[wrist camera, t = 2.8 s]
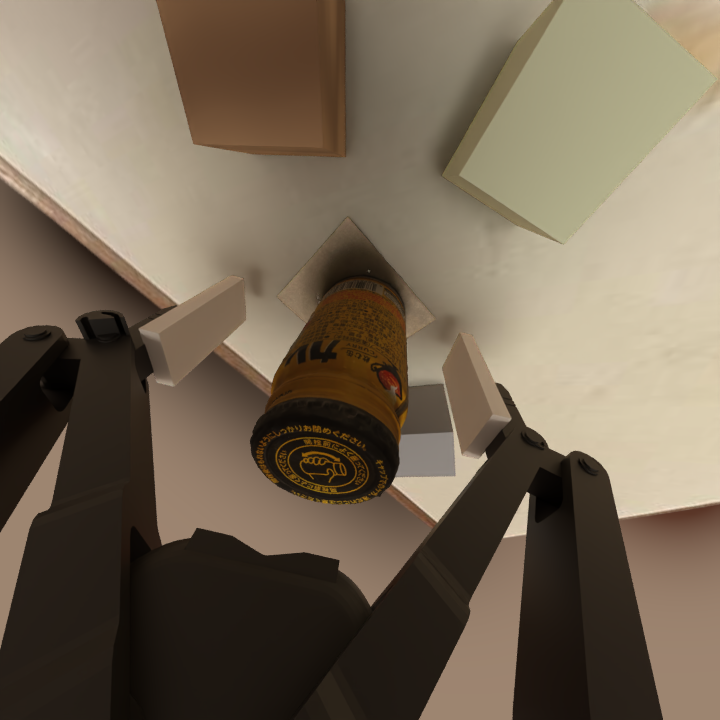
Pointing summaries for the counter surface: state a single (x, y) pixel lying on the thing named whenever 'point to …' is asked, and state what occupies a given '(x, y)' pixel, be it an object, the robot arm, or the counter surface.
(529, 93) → the sage cube
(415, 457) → the slate cube
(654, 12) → the counter surface
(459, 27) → the counter surface
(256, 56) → the walnut cube
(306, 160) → the counter surface
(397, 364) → the condiment
